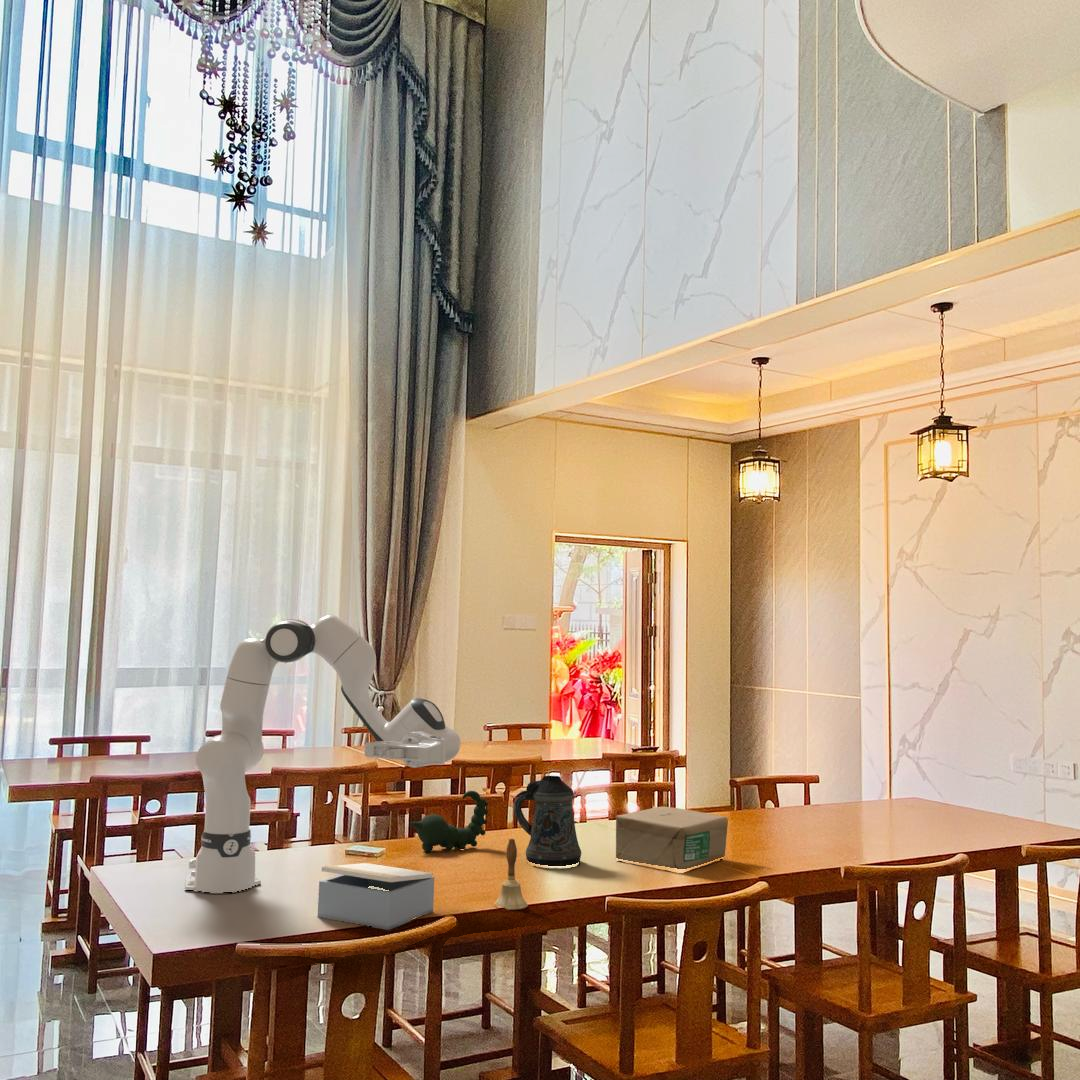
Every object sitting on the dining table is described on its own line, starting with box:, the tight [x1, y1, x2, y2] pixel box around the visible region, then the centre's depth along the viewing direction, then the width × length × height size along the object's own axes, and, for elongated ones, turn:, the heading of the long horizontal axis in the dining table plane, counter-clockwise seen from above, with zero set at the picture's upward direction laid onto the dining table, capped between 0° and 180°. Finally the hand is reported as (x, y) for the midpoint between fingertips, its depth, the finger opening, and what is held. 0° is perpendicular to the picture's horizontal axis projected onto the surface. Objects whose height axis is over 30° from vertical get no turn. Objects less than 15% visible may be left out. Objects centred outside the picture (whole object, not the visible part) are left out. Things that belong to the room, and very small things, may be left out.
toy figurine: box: [409, 790, 489, 853], centre depth 312 cm, size 9×19×25 cm
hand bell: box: [494, 838, 529, 911], centre depth 248 cm, size 8×8×16 cm
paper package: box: [615, 806, 729, 869], centre depth 305 cm, size 27×26×14 cm
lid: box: [321, 862, 434, 882], centre depth 237 cm, size 17×20×1 cm
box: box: [317, 874, 435, 931], centre depth 237 cm, size 18×20×8 cm
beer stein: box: [513, 775, 582, 866], centre depth 297 cm, size 16×19×25 cm
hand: (383, 754), depth 243 cm, fingers closed
